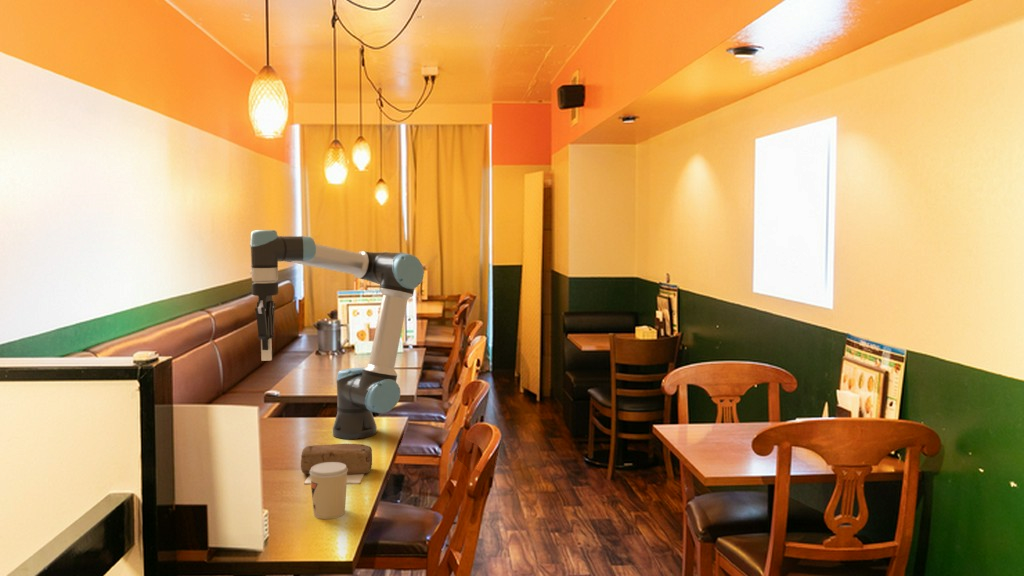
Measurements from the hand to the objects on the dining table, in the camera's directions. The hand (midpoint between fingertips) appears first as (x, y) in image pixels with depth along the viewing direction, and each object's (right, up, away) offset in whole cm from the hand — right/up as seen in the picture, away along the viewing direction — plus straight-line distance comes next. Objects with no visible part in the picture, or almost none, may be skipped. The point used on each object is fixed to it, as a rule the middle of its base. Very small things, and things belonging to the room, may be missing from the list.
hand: (266, 360), depth 228 cm
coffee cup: (+27, -36, -35) cm, 57 cm away
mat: (+22, -33, -3) cm, 40 cm away
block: (+12, -29, -4) cm, 31 cm away
